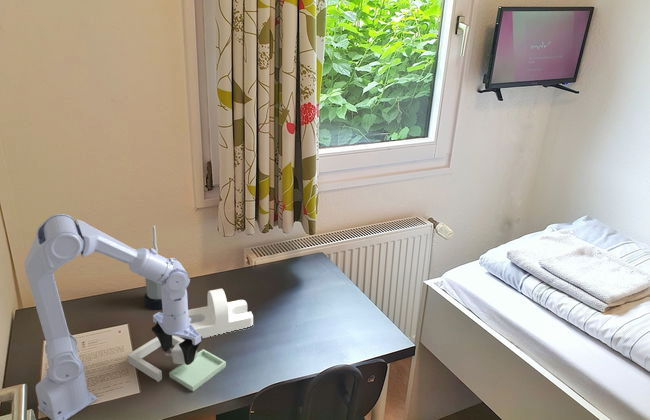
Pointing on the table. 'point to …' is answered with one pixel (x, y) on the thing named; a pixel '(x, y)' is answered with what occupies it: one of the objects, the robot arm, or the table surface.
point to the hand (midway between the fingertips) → (178, 355)
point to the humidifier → (153, 286)
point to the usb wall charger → (178, 354)
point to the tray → (198, 370)
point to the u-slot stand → (220, 315)
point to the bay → (144, 350)
